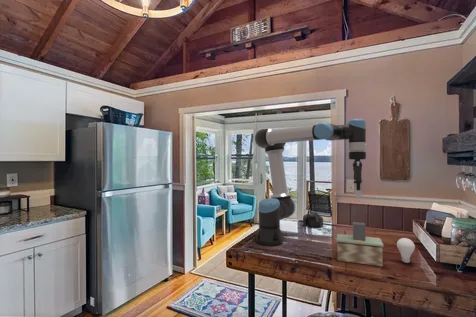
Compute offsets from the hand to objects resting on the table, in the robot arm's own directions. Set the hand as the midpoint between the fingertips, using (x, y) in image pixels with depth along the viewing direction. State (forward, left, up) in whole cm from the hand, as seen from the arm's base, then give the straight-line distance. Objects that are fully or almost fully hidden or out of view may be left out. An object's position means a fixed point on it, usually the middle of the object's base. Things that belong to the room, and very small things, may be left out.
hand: (357, 195), depth 123 cm
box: (0, -6, -29) cm, 29 cm away
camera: (-25, +41, -29) cm, 56 cm away
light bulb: (+19, -4, -29) cm, 35 cm away
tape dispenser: (+3, +10, -29) cm, 31 cm away
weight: (0, -6, -19) cm, 20 cm away
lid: (0, -6, -20) cm, 21 cm away
